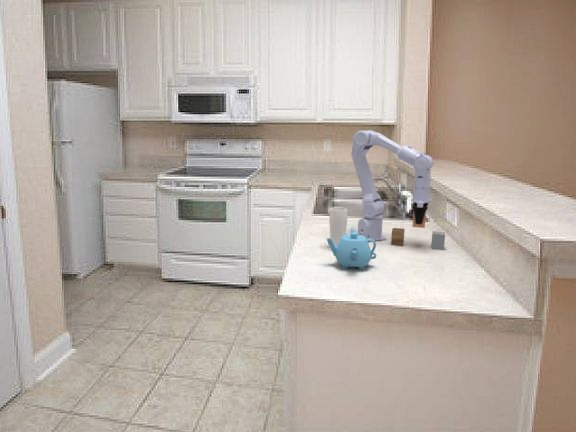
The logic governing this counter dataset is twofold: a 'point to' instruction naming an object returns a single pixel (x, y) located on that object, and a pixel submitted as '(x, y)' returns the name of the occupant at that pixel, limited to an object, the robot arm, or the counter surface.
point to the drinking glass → (337, 223)
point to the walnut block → (397, 237)
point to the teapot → (353, 250)
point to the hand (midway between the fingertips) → (418, 222)
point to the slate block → (438, 240)
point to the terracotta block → (419, 224)
